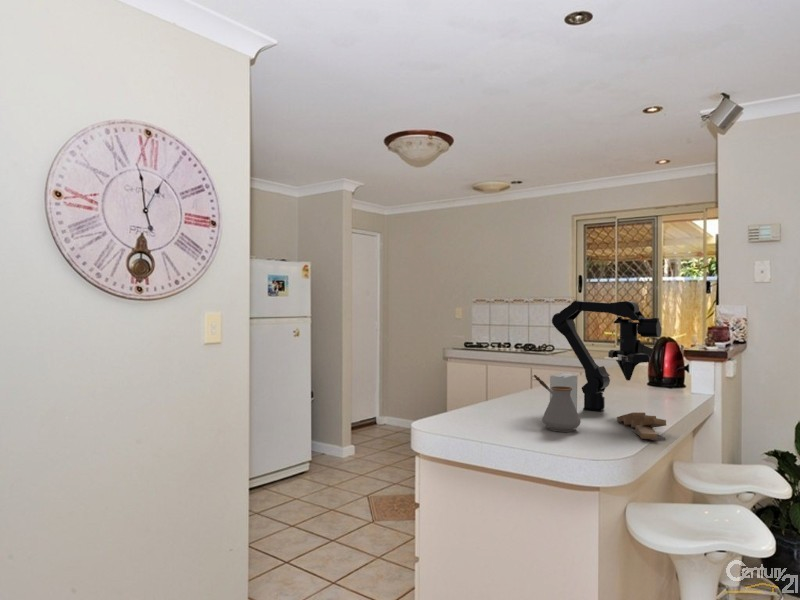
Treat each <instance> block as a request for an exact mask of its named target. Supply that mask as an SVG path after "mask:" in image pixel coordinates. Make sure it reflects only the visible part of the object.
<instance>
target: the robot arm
mask: <svg viewBox="0 0 800 600" xmlns="http://www.w3.org/2000/svg"><path fill="white" fill-rule="evenodd" d="M582 312H591V313H592V312H594V313H604V314H612V315H615V316H618V317H617V318H616V319H615V320H614V321H613V324H619V338H617V342H619V349H610V350H609V351H608V352H607V353H608V358H611V359H614V358H617V359H615V361H616V362H617V364H618V366H619V367H620V370H621V372H622V374H623V376H624V378H625V380H626V381H627V382H628V381H631V379H632V376H633V374H634V371H635V368H636V366H638V365H639V364H641V363H643V364H644V363H645V364H647V363H648V364H649V363H651V358H652V356H653V353H654V351H655V349H654V348H652V347H649V346H648V345H645V344H644V343H641V340H640V339H638V335H639V336H640V337H641V338H654V339H655V338H657V339H658V338H661V336H662V326H661V321H660V317H652V318H651V317H650V318H649V317H648V318H647V317H645V316H644V314H643V313H642V312H641V310H640V306H639V304H638V303H637V302H635V301H631V300H626V301H625V300H623V301H615V302H601V301H600V302H597V301H583V300H577V299H576V300H574V301H572V303H570V304H569V305H567V307H564V308H563V309H561V311H560V312H557V313H555V314H553V316H552V319H551V323H552V325H553V326H554V328H555V329H556V330H557V332H559V333H560V334H561V335H563V336H564V338H565V339H566V341H567V343H568V344H569V345H570V347H571V349H572V350H573V353H574V354H575V356H576V357H577V359H578V361H579V363H580V364H581V366H582V367H583V369H584V374H585V379H586V383H585V384H583V386H581V391H582V393H583V399H584V400H583V401H584V402H583V404H584V405H583V408H582V409H583V410H584V411H586V410H587V411H597V412H602V411H603V410H604V409H605V406H606V405H605V404H606V403H605V402H606V401H605V400H606V399H605V396H604V392H605V390H606V388H607V387H609V385H610V382H611V379H610V376H611V375H610V374H609V372H607V370H606V368H605V366H604V365H602V366H599V365H598V364H597V363H596V362H595V360H594V358H593V356H592V355H591V353H590V351H588V348H587V347H586V345H585V344H584V342H583V340H582V339H581V337H580V336H579V334H578V332H577V328H576V324H575V323H576V322H575V319H576V318H577V317H578V316H579V315H580V314H581V313H582ZM633 321H634V322H633Z"/></svg>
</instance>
